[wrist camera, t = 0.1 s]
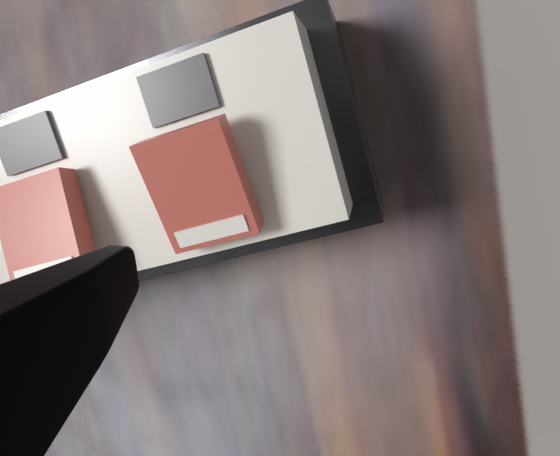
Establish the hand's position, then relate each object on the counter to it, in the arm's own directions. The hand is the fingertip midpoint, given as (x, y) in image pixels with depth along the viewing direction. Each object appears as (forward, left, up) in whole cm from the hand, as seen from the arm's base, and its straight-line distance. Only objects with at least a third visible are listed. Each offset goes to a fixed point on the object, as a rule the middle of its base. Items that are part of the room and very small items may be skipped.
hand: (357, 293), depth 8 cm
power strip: (-8, +9, -10) cm, 16 cm away
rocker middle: (-9, +8, -7) cm, 13 cm away
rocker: (-3, +5, -7) cm, 9 cm away
